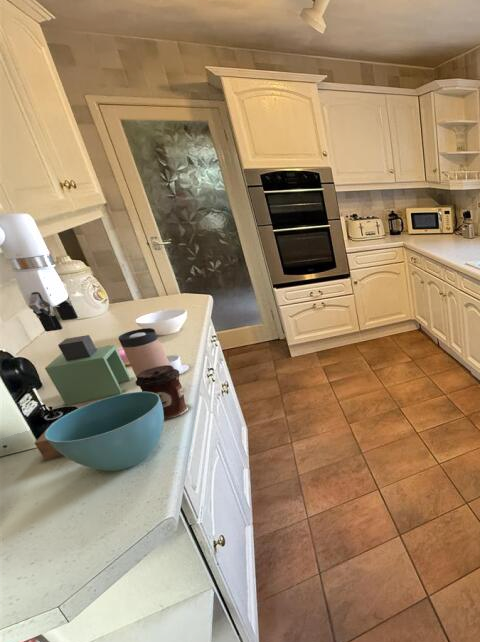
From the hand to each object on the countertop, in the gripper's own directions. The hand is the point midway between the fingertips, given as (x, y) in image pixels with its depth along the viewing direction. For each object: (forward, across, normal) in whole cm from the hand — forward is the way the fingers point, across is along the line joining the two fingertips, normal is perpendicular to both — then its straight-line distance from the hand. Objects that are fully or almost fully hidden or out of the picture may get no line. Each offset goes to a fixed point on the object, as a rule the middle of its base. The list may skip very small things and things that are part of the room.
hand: (62, 324), depth 108 cm
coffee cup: (+22, +25, +23) cm, 41 cm away
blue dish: (+22, +43, +18) cm, 52 cm away
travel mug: (+22, +13, +19) cm, 32 cm away
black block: (+10, 0, +1) cm, 10 cm away
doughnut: (+22, -23, +4) cm, 32 cm away
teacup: (+22, -4, +17) cm, 28 cm away
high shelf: (+22, -1, +1) cm, 22 cm away
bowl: (+21, -49, +8) cm, 54 cm away
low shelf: (+22, +29, +7) cm, 37 cm away
